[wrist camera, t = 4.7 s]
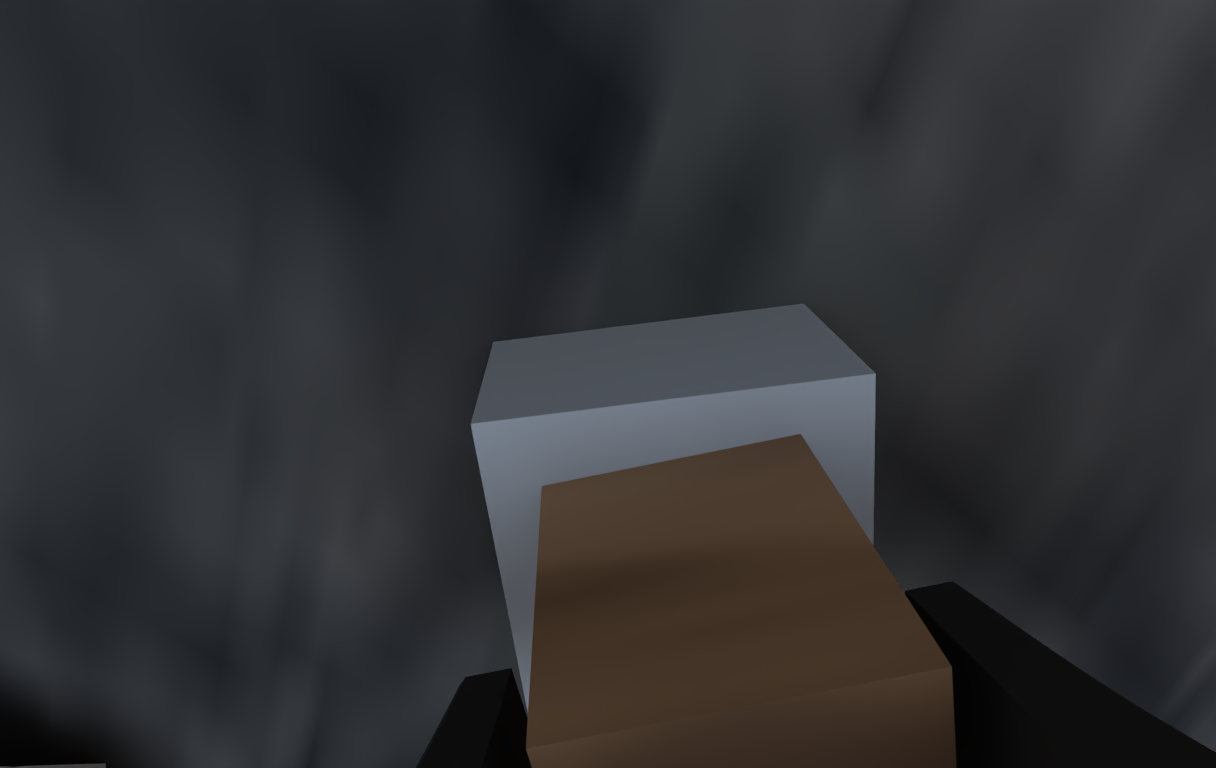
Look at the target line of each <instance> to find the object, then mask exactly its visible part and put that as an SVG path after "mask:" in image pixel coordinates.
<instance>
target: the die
mask: <svg viewBox="0 0 1216 768" xmlns="http://www.w3.org/2000/svg"><path fill="white" fill-rule="evenodd" d="M0 768H106V764H105V763H102V764H70V765H38V766H18V767H9V766H6V767H0Z"/></svg>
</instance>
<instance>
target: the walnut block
mask: <svg viewBox="0 0 1216 768" xmlns="http://www.w3.org/2000/svg"><path fill="white" fill-rule="evenodd" d="M526 751H527V754H528V757H529V760H530V763H531V767H532V768H956V746H955V723H954V701H953V679H952V666H951V665H950V663H949V661H948V660H947V658H946V657H945V655H944V654H943V652H942V651H941V649H940V648H939V646H938V645H937V643H936V641H935V640H934V638H933V637H932V635H931V634H930V632H929V631H928V629H927V628H926V626H925V624H924V623H923V621H922V620H921V618H920V617H919V615H918V614H917V612H916V611H915V609H914V608H913V606H912V604H911V603H910V601H909V600H908V598H907V597H906V595H905V594H904V592H903V591H902V589H901V588H900V586H899V584H898V583H897V581H896V580H895V578H894V577H893V575H892V574H891V572H890V571H889V569H888V568H887V566H886V564H885V563H884V561H883V560H882V558H881V557H880V555H879V554H878V552H877V551H876V549H875V548H874V546H873V544H872V543H871V541H870V540H869V538H868V537H867V535H866V534H865V532H864V531H863V529H862V528H861V526H860V524H859V523H858V521H857V520H856V518H855V517H854V515H853V514H852V512H851V511H850V509H849V508H848V506H847V504H846V503H845V501H844V500H843V498H842V497H841V495H840V494H839V492H838V491H837V489H836V488H835V486H834V484H833V483H832V481H831V480H830V478H829V477H828V475H827V474H826V472H825V471H824V469H823V468H822V466H821V464H820V463H819V461H818V460H817V458H816V457H815V455H814V454H813V452H812V451H811V449H810V448H809V446H808V444H807V443H806V441H805V440H804V438H803V437H802V435H801V434H798V435H793V436H788V437H783V438H778V439H773V440H768V441H763V442H758V443H753V444H748V445H743V446H738V447H733V448H728V449H723V450H718V451H713V452H709V453H704V454H699V455H694V456H689V457H684V458H679V459H674V460H669V461H664V462H659V463H654V464H649V465H644V466H639V467H634V468H629V469H624V470H620V471H615V472H610V473H605V474H600V475H595V476H590V477H585V478H580V479H575V480H570V481H565V482H560V483H555V484H550V485H545V486H542V490H541V506H540V523H539V539H538V556H537V573H536V589H535V606H534V622H533V639H532V655H531V672H530V688H529V705H528V721H527V738H526Z"/></svg>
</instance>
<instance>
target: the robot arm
mask: <svg viewBox="0 0 1216 768" xmlns="http://www.w3.org/2000/svg"><path fill="white" fill-rule="evenodd" d="M905 595H906V597H907V598H908V600H909V601H910V603H911V604H912V606H913V608H914V609H915V611H916V612H917V614H918V615H919V617H920V618H921V620H922V621H923V623H924V624H925V626H926V628H927V629H928V631H929V632H930V634H931V635H932V637H933V638H934V640H935V641H936V643H937V645H938V646H939V648H940V649H941V651H942V652H943V654H944V655H945V657H946V658H947V660H948V661H949V663H950V665H951V666H952V679H953V701H954V723H955V746H956V768H1216V752H1214V751H1212V750H1210V749H1209V748H1207V747H1205V746H1204V745H1202V744H1200V743H1199V742H1197V741H1195V740H1193V739H1192V738H1190V737H1188V736H1187V735H1185V734H1183V733H1182V732H1180V731H1178V730H1176V729H1175V728H1173V727H1171V726H1170V725H1168V724H1166V723H1165V722H1163V721H1161V720H1159V719H1158V718H1156V717H1154V716H1153V715H1151V714H1149V713H1148V712H1146V711H1145V710H1143V709H1141V708H1140V707H1138V706H1136V705H1135V704H1133V703H1132V702H1130V701H1128V700H1127V699H1125V698H1124V697H1122V696H1121V695H1119V694H1118V693H1116V692H1114V691H1113V690H1111V689H1110V688H1108V687H1107V686H1105V685H1104V684H1102V683H1101V682H1099V681H1098V680H1096V679H1094V678H1093V677H1091V676H1090V675H1088V674H1087V673H1085V672H1084V671H1082V670H1081V669H1079V668H1078V667H1076V666H1075V665H1073V664H1071V663H1070V662H1069V661H1067V660H1066V659H1064V658H1063V657H1061V656H1060V655H1058V654H1057V653H1055V652H1054V651H1052V650H1051V649H1049V648H1048V647H1046V646H1045V645H1043V644H1042V643H1041V642H1039V641H1038V640H1036V639H1035V638H1033V637H1032V636H1030V635H1029V634H1028V633H1026V632H1025V631H1023V630H1022V629H1020V628H1019V627H1017V626H1016V625H1015V624H1013V623H1012V622H1010V621H1009V620H1007V619H1006V618H1005V617H1003V616H1002V615H1000V614H999V613H998V612H996V611H995V610H993V609H992V608H990V607H989V606H988V605H986V604H985V603H983V602H982V601H980V600H979V599H978V598H976V597H975V596H973V595H972V594H970V593H969V592H967V591H966V590H964V589H963V588H962V587H960V586H959V585H957V584H956V583H954V582H948V583H943V584H938V585H932V586H927V587H922V588H917V589H912V590H907V591H905ZM527 721H528V719H527V716H526V713H525V710H524V707H523V703H522V700H521V697H520V694H519V691H518V688H517V684H516V681H515V678H514V675H513V672H512V669H511V668H510V669H505V670H500V671H495V672H490V673H484V674H479V675H474V676H469V677H465V679H464V680H463V682H462V683H461V684H460V686H459V688H458V690H457V691H456V693H455V695H454V697H453V699H452V701H451V703H450V705H449V707H448V709H447V711H446V713H445V714H444V716H443V718H442V720H441V722H440V724H439V726H438V728H437V730H436V732H435V733H434V735H433V737H432V739H431V741H430V743H429V745H428V746H427V748H426V750H425V752H424V754H423V756H422V757H421V759H420V761H419V763H418V765H417V767H416V768H532V767H531V763H530V760H529V757H528V754H527V751H526V738H527Z"/></svg>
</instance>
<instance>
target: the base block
mask: <svg viewBox="0 0 1216 768" xmlns="http://www.w3.org/2000/svg"><path fill="white" fill-rule="evenodd" d="M875 390H876V373H875V372H874V371H873V370H872V369H871V368H870V367H869V366H868V365H866V364H865V363H864V362H863V361H862V360H861V359H860V358H859V357H858V356H857V355H856V354H855V353H854V352H853V351H852V350H851V349H850V348H849V347H848V346H847V345H846V344H845V343H844V342H843V341H842V340H841V339H840V338H839V337H838V336H837V335H836V334H835V333H834V332H833V331H832V330H831V329H830V328H829V327H827V326H826V325H825V324H824V323H823V322H822V321H821V320H820V319H819V318H818V317H817V316H816V315H815V314H814V313H813V312H812V311H811V310H810V309H809V308H808V307H807V306H806V305H805V304H796V305H788V306H779V307H771V308H763V309H755V310H747V311H739V312H731V313H723V314H715V315H707V316H699V317H691V318H683V319H675V320H667V321H659V322H651V323H642V324H634V325H626V326H618V327H610V328H602V329H594V330H586V331H578V332H570V333H562V334H554V335H546V336H538V337H530V338H522V339H514V340H505V341H497V342H493V345H492V349H491V352H490V356H489V360H488V363H487V367H486V370H485V374H484V377H483V381H482V385H481V388H480V392H479V395H478V399H477V403H476V406H475V410H474V413H473V417H472V421H471V429H472V434H473V439H474V444H475V449H476V454H477V459H478V464H479V469H480V474H481V479H482V484H483V489H484V494H485V499H486V504H487V509H488V514H489V519H490V524H491V529H492V534H493V539H494V545H495V550H496V555H497V560H498V565H499V570H500V575H501V580H502V585H503V590H504V595H505V600H506V605H507V610H508V615H509V620H510V625H511V630H512V635H513V640H514V645H515V650H516V655H517V660H518V666H519V671H520V676H521V681H522V686H523V691H524V696H525V701H526V706H527V711H528V705H529V688H530V672H531V655H532V639H533V622H534V606H535V589H536V573H537V556H538V539H539V523H540V506H541V490H542V486H545V485H550V484H555V483H560V482H565V481H570V480H575V479H580V478H585V477H590V476H595V475H600V474H605V473H610V472H615V471H620V470H624V469H629V468H634V467H639V466H644V465H649V464H654V463H659V462H664V461H669V460H674V459H679V458H684V457H689V456H694V455H699V454H704V453H709V452H713V451H718V450H723V449H728V448H733V447H738V446H743V445H748V444H753V443H758V442H763V441H768V440H773V439H778V438H783V437H788V436H793V435H798V434H801V435H802V437H803V438H804V440H805V441H806V443H807V444H808V446H809V448H810V449H811V451H812V452H813V454H814V455H815V457H816V458H817V460H818V461H819V463H820V464H821V466H822V468H823V469H824V471H825V472H826V474H827V475H828V477H829V478H830V480H831V481H832V483H833V484H834V486H835V488H836V489H837V491H838V492H839V494H840V495H841V497H842V498H843V500H844V501H845V503H846V504H847V506H848V508H849V509H850V511H851V512H852V514H853V515H854V517H855V518H856V520H857V521H858V523H859V524H860V526H861V528H862V529H863V531H864V532H865V534H866V535H867V537H868V538H869V540H870V541H871V543H872V544H873V536H874V463H875Z"/></svg>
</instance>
